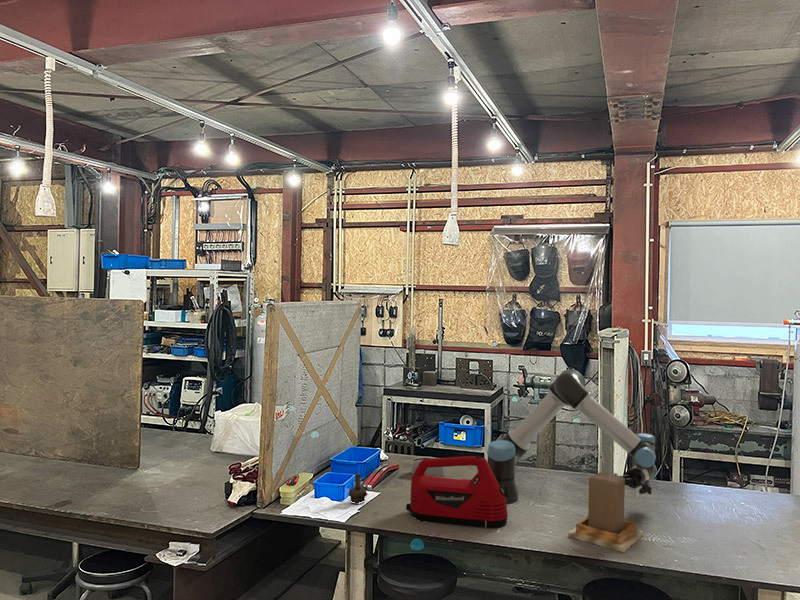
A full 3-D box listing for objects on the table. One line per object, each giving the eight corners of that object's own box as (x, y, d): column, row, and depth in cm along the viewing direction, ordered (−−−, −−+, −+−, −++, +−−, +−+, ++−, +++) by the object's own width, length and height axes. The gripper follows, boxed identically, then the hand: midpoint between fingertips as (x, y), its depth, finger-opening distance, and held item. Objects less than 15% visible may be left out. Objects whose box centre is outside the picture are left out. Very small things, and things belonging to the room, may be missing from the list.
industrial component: (369, 501, 249) (369, 472, 249) (363, 506, 242) (363, 477, 242) (348, 498, 252) (349, 470, 252) (341, 504, 245) (342, 475, 245)
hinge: (446, 473, 291) (446, 456, 287) (445, 479, 286) (445, 461, 283) (412, 471, 293) (411, 454, 290) (411, 477, 289) (410, 459, 286)
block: (624, 531, 217) (625, 477, 217) (613, 539, 210) (615, 483, 210) (598, 524, 224) (599, 471, 224) (586, 531, 216) (587, 477, 216)
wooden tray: (568, 536, 216) (568, 524, 216) (590, 521, 231) (590, 509, 231) (623, 552, 203) (623, 539, 203) (643, 535, 218) (643, 523, 218)
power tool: (411, 506, 245) (412, 445, 245) (509, 516, 235) (510, 453, 234) (401, 519, 229) (402, 455, 229) (506, 531, 219) (507, 464, 219)
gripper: (668, 493, 232) (650, 507, 216) (605, 479, 248) (584, 491, 232) (668, 474, 232) (651, 486, 216) (606, 461, 248) (585, 472, 232)
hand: (616, 489), depth 224 cm, fingers open, 13 cm apart
